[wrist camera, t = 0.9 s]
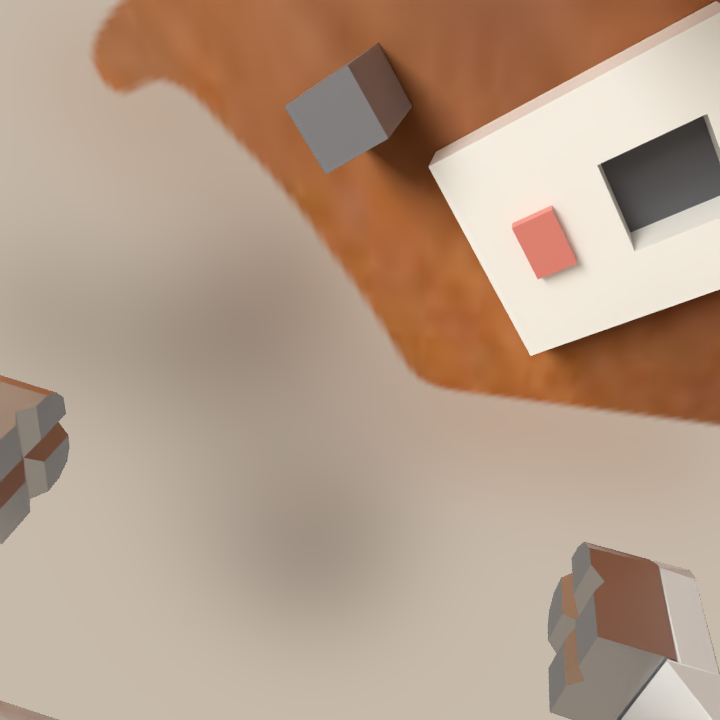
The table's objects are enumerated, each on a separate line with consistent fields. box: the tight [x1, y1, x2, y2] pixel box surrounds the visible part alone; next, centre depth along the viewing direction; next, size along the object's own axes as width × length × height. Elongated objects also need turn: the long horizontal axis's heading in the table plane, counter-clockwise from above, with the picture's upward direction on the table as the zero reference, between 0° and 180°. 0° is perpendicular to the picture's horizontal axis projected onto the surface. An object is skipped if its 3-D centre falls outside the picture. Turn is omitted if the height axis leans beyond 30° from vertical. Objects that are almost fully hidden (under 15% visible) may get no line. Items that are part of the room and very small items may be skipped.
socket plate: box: [428, 1, 720, 356], centre depth 38 cm, size 16×14×4 cm
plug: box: [284, 43, 412, 174], centre depth 37 cm, size 4×4×7 cm
